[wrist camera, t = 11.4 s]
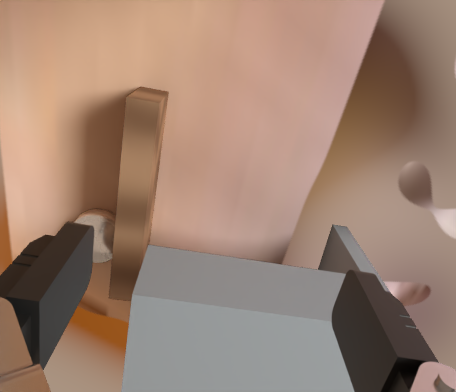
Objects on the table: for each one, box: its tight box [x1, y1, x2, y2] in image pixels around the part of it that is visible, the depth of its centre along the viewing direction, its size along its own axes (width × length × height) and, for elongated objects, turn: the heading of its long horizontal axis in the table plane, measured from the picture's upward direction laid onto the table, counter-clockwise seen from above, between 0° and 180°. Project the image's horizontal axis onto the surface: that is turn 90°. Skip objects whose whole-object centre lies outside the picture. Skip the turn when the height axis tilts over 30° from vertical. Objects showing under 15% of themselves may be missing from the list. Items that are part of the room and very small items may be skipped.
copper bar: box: [109, 87, 169, 301], centre depth 34 cm, size 18×2×6 cm, turn 169°
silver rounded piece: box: [74, 209, 116, 263], centre depth 38 cm, size 5×5×2 cm
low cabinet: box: [121, 225, 390, 392], centre depth 33 cm, size 10×18×15 cm, turn 80°
